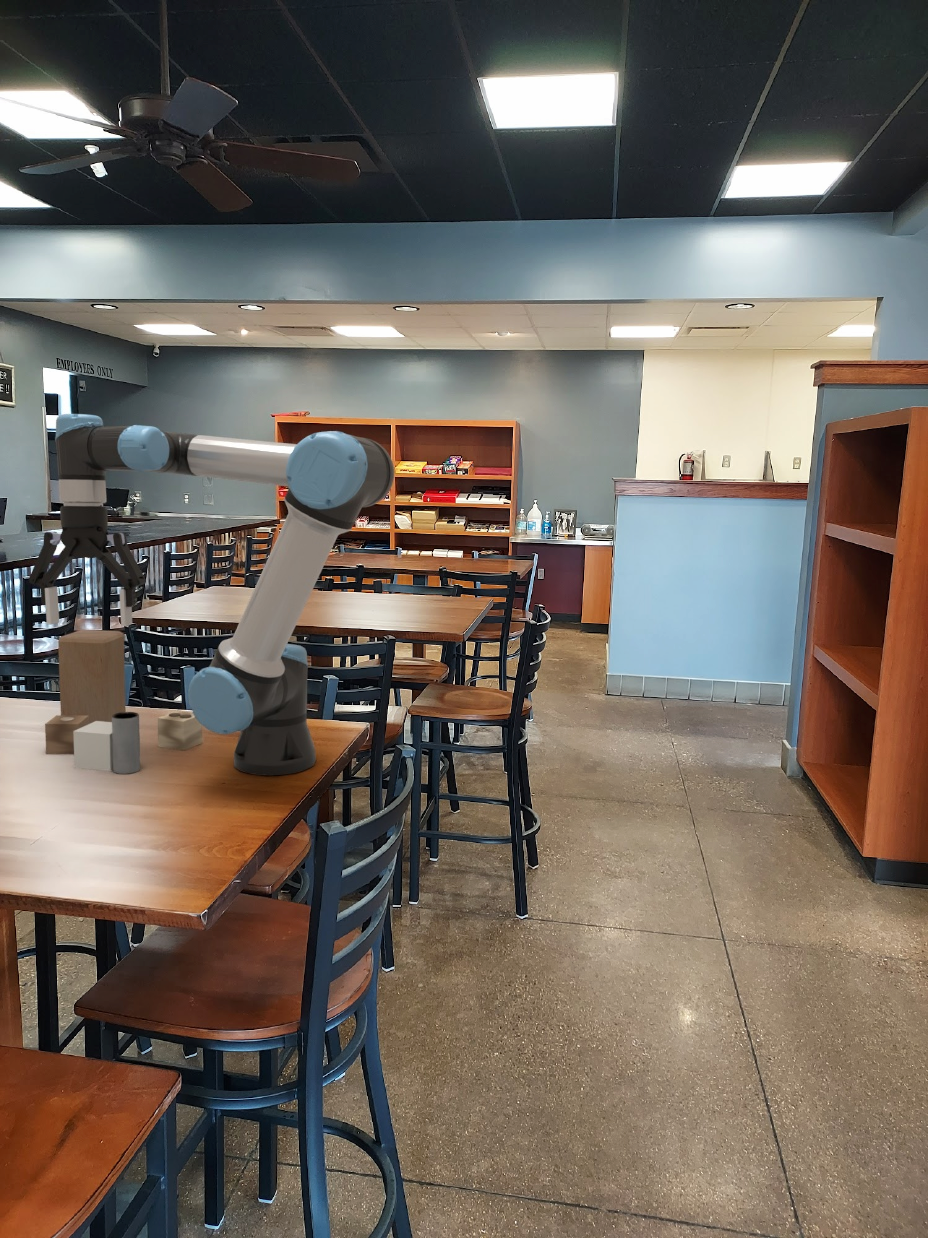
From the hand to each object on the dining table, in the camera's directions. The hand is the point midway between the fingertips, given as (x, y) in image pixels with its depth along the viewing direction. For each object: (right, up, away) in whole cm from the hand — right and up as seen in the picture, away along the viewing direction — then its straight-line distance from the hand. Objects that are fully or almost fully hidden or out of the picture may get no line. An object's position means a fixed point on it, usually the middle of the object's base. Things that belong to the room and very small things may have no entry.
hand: (89, 624), depth 146 cm
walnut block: (-10, -24, +12) cm, 29 cm away
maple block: (+10, -24, +17) cm, 32 cm away
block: (-12, -22, +28) cm, 37 cm away
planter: (+6, -27, +2) cm, 27 cm away
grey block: (0, -26, +4) cm, 26 cm away
